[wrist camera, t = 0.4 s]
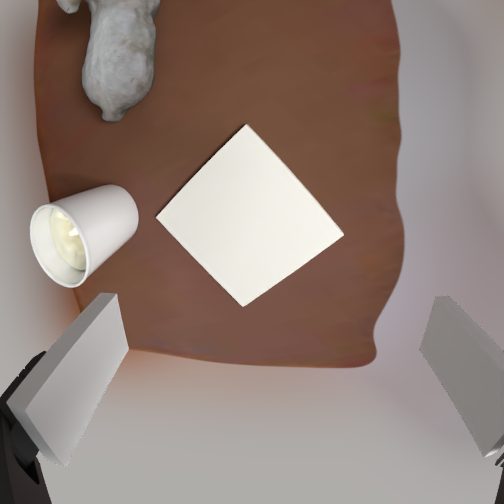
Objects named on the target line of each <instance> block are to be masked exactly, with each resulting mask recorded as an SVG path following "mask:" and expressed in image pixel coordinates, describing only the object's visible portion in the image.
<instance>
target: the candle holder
mask: <svg viewBox="0 0 504 504" xmlns="http://www.w3.org/2000/svg"><path fill="white" fill-rule="evenodd" d="M138 220H139V217H138V210H137V206H136V204H135V202H134V200H133V198H132V197H131V195H130V194H129V193H128V192H127V191H126V190H125V189H123V188H122V187H120V186H117V185H113V184H108V185H103V186H100V187H96V188H93V189H90V190H87V191H84V192H80V193H77V194H74V195H71V196H69V197H66V198H63V199H60V200H57V201H54V202H51V203H48V204H44V205H42V206H40V207H39V208H37V209H36V211H35V212H34V214H33V216H32V218H31V222H30V240H31V244H32V248H33V251H34V254H35V256H36V258H37V260H38V262H39V264H40V265H41V267H42V268H43V270H44V271H45V272H46V273H47V275H48V276H49V277H51V278H52V279H53V280H54V281H55V282H57V283H58V284H60V285H63V286H65V287H77V286H79V285H81V284H82V283H83V282H84V281H85V280H86V278H87V277H88V276H89V275H90V274H92V273H93V272H94V271H95V270H96V269H97V268H98V267H99V266H100V265H101V264H102V263H103V262H105V261H106V260H107V259H108V258H109V257H110V256H111V255H112V254H113V253H115V252H116V251H117V250H118V249H119V248H120V247H121V246H122V245H124V244H125V243H126V242H127V241H128V240H129V239H130V238H131V237H132V236H133V235H134V233H135V232H136V229H137V226H138Z"/></svg>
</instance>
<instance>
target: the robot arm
mask: <svg viewBox="0 0 504 504" xmlns="http://www.w3.org/2000/svg"><path fill="white" fill-rule="evenodd" d="M128 349H129V348H128V344H127V340H126V336H125V331H124V327H123V323H122V318H121V314H120V309H119V304H118V299H117V294H111V293H100V294H99V295H98V296H97V297H96V298H95V299H94V300H93V301H92V302H91V303H90V304H89V306H88V307H87V308H86V309H85V310H84V311H83V312H82V313H81V314H80V315H79V316H78V317H77V318H76V320H75V321H74V322H73V323H72V324H71V325H70V326H69V327H68V328H67V330H66V331H65V332H64V333H63V334H62V335H61V336H60V337H59V339H58V340H57V341H56V342H55V343H54V344H53V345H52V347H51V348H50V349H49V350H48V351H47V352H46V351H43V352H41V353H40V354H38V355H37V356H35V357H34V358H33V359H32V360H31V361H30V362H29V363H28V364H27V365H26V366H25V369H23V370H22V371H21V372H20V374H19V377H16V378H15V380H14V381H13V382H12V383H11V385H10V386H9V387H8V388H7V389H6V391H5V392H4V393H3V394H2V396H1V397H0V504H52V503H51V500H50V497H49V494H48V491H47V487H46V484H45V481H44V477H43V474H42V471H41V467H40V463H39V461H38V459H37V457H36V455H37V453H38V451H40V452H41V453H42V454H43V456H44V457H45V458H46V459H47V460H48V461H50V462H53V463H55V464H57V465H59V466H62V467H65V468H66V467H67V464H68V462H69V460H70V458H71V456H72V454H73V452H74V450H75V448H76V446H77V444H78V442H79V440H80V438H81V436H82V434H83V432H84V430H85V428H86V426H87V424H88V422H89V420H90V419H91V416H92V415H93V413H94V411H95V409H96V407H97V405H98V403H99V401H100V400H101V398H102V396H103V394H104V392H105V390H106V389H107V387H108V385H109V383H110V381H111V379H112V378H113V376H114V374H115V372H116V371H117V369H118V367H119V365H120V363H121V362H122V360H123V358H124V356H125V355H126V353H127V351H128ZM419 350H420V351H421V353H422V354H423V356H424V357H425V359H426V360H427V362H428V363H429V365H430V366H431V368H432V369H433V371H434V373H435V374H436V376H437V377H438V379H439V380H440V382H441V384H442V385H443V387H444V388H445V390H446V392H447V393H448V395H449V397H450V398H451V400H452V402H453V403H454V405H455V407H456V408H457V410H458V412H459V414H460V415H461V417H462V419H463V420H464V422H465V424H466V426H467V427H468V429H469V431H470V433H471V434H472V436H473V438H474V440H475V442H476V444H477V446H478V447H479V449H480V451H481V453H482V455H483V457H484V458H485V457H487V456H489V455H491V454H493V453H495V452H497V451H499V450H500V449H501V447H502V446H503V445H504V351H503V350H502V349H501V348H500V347H499V346H498V345H497V344H496V343H495V342H494V340H493V339H491V337H490V336H489V335H488V334H487V333H486V332H485V331H484V330H483V329H482V328H481V327H480V326H479V325H478V324H477V323H476V322H475V321H474V320H473V319H472V318H471V317H470V316H469V315H468V314H467V313H466V312H465V311H464V310H463V309H462V308H461V307H460V306H459V305H457V303H456V302H455V301H454V300H453V299H451V297H449V296H439V297H435V301H434V304H433V308H432V311H431V315H430V318H429V321H428V324H427V328H426V331H425V334H424V337H423V340H422V343H421V346H420V349H419ZM503 459H504V453H503V454H502V455H501V456H500V458H499V459H498V460H497V461H496V463H495V465H496V466H497V465H498V464H499V463H500V462H501V460H503ZM501 467H503V471H502V475H501V480H500V484H499V489H498V493H497V497H496V500H495V504H504V462H503V463H502V464H501Z"/></svg>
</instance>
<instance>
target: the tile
mask: <svg viewBox="0 0 504 504" xmlns="http://www.w3.org/2000/svg"><path fill="white" fill-rule="evenodd" d="M156 218H157V219H158V220H159V221H160V222H161V223H162V224H163V226H164V227H165V228H166V229H167V230H168V231H169V232H170V233H171V234H172V235H173V236H174V237H175V238H176V239H177V240H178V241H179V243H180V244H181V245H182V246H183V247H184V248H185V249H186V250H187V251H188V252H189V253H190V254H191V255H192V256H193V257H194V258H195V259H196V260H197V261H198V262H199V263H200V264H201V265H202V266H203V267H204V268H205V269H206V270H207V271H208V273H209V274H210V275H211V276H212V277H213V278H214V279H215V280H216V281H217V282H218V283H219V284H220V285H221V286H222V287H223V288H224V289H225V290H226V291H227V292H228V293H229V294H230V295H231V296H232V297H233V298H234V299H235V300H236V301H237V302H238V303H239V304H240V305H241V306H242V307H244V306H245V305H247V304H248V303H250V302H251V301H253V300H254V299H255V298H257V297H258V296H260V295H261V294H263V293H264V292H266V291H267V290H268V289H270V288H271V287H273V286H274V285H276V284H277V283H278V282H280V281H281V280H283V279H284V278H285V277H287V276H288V275H290V274H291V273H292V272H294V271H295V270H297V269H298V268H299V267H301V266H302V265H304V264H305V263H306V262H308V261H309V260H311V259H312V258H313V257H315V256H316V255H317V254H319V253H320V252H322V251H323V250H324V249H326V248H327V247H328V246H330V245H331V244H333V243H334V242H335V241H337V240H338V239H339V238H341V237H342V236H343V235H344V233H343V232H342V230H341V229H340V228H339V227H338V226H337V224H336V223H335V222H334V221H333V219H332V218H331V217H330V216H329V215H328V213H327V212H326V211H325V210H324V209H323V207H322V206H321V205H320V204H319V203H318V201H317V200H316V199H315V198H314V197H313V196H312V194H311V193H310V192H309V191H308V190H307V189H306V187H305V186H304V185H303V184H302V183H301V182H300V181H299V179H298V178H297V177H296V176H295V175H294V174H293V173H292V172H291V170H290V169H289V168H288V167H287V166H286V165H285V164H284V163H283V162H282V160H281V159H280V158H279V157H278V156H277V155H276V154H275V153H274V152H273V151H272V150H271V149H270V147H269V146H268V145H267V144H266V143H265V142H264V141H263V140H262V139H261V138H260V137H259V136H258V135H257V134H256V133H255V132H254V131H253V130H252V129H251V127H250V126H249V125H248V124H246V125H245V126H244V127H243V128H242V129H241V130H240V131H239V132H238V133H237V134H236V135H235V136H233V137H232V138H231V139H230V140H229V141H228V142H227V143H226V144H225V145H224V146H223V147H222V148H221V149H220V150H219V151H218V152H217V153H216V154H215V155H214V156H213V157H212V158H211V159H210V160H209V161H208V162H207V163H206V164H205V165H204V166H203V167H202V168H201V169H200V170H199V171H198V172H197V174H196V175H195V176H194V177H193V178H192V179H191V180H190V181H189V182H188V183H187V184H186V185H185V186H184V187H183V188H182V189H181V190H180V192H179V193H178V194H177V195H176V196H175V197H174V198H173V199H172V200H171V201H170V202H169V204H168V205H167V206H166V207H165V208H164V209H163V210H162V211H161V213H160V214H159V215H158V216H157V217H156Z"/></svg>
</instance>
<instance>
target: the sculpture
mask: <svg viewBox="0 0 504 504" xmlns="http://www.w3.org/2000/svg"><path fill="white" fill-rule="evenodd" d="M56 1H57V3H58V5H59V6H60V7H61V8H62V9H63V10H64V11H65V12H66V13H74V12H77V11H78V8H79V4H80V2H81V1H82V0H56ZM85 1H87V2H88V5H89V9H90V11H91V21H92V22H91V28H90V39H89V43H88V47H87V54H86V58H85V63H84V66H83V68H82V86H83V88H84V90H85V93H86V94H87V96H88V98H89V99H90V101H91V102H92V103H94V104H96V105H98V106H100V108H101V109H102V110H103V112H102V118H103V119H104V120H106V121H119V120H121V119H122V118H123V116H124V115H125V113H126V112H127V111H128V110H129V109H130V108H131V107H133V106H134V105H136V104H137V103H139V102H140V101H141V100H142V99H143V98H144V97H145V96H146V95H147V94H148V92H149V91H150V89H151V88H152V84H153V81H154V59H155V41H156V28H155V25H154V23H153V19H154V18H155V16H156V14H157V11H158V9H159V5H160V0H85Z"/></svg>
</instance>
